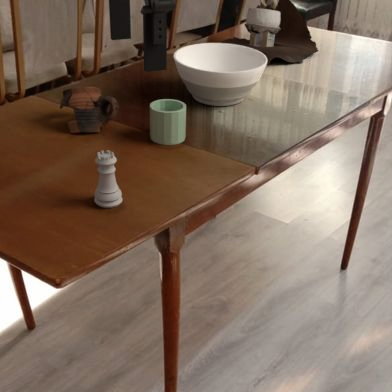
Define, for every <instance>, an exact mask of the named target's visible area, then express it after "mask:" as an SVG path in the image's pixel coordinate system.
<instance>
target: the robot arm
mask: <svg viewBox="0 0 392 392" xmlns="http://www.w3.org/2000/svg"><path fill="white" fill-rule="evenodd" d="M143 1H144V5H142V7H141V9H140V11H139V12H140V14H141V15H142V36H143V37H142V40H143V41H142V42H143V45H142V46H143V71H144V72H146V73H148V72H159V71H166V70H167V65H168V64H167V57H168V55H167V54H168V53H167V50H168V49H167V47H168V46H167V45H168V42H167V41H168V40H167V39H168V37H167V36H168V29H167V28H168V24H167V23H168V14H167V13H169V12H170V11H175V9H176V0H143ZM108 13H109V31H110V40H111V41H120V40H131V39H132V26H131V25H132V23H131V22H132V21H131V0H108Z"/></svg>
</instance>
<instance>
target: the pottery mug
mask: <svg viewBox="0 0 392 392" xmlns="http://www.w3.org/2000/svg"><path fill="white" fill-rule="evenodd" d="M61 93H62V98H61V100H60V105H59V109H63V107H67V108H69V107H70V108H71V109H73V114H74V116H75V119H72V120H69V121H68V122H67V126H68V129H69V133H70V134H79V133H87V134H89V133H90V134H91V133H100V132H101V123H102V125H103V126H104V127H106V126H108V124H109V122H110V121H112V120H114V119H115V118H116V116H117V114H118V112H119V110H120V109H119V108H120V107H119V102H118V101H117V99H116V98H115V97H113V96H110V95H105V96H103V95H102V89H101V88H99V87H97V86H77V87H70V88H67V89H64V90H62V92H61ZM109 105H110V108H109Z"/></svg>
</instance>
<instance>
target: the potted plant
mask: <svg viewBox="0 0 392 392" xmlns="http://www.w3.org/2000/svg"><path fill="white" fill-rule="evenodd" d="M259 1H260V2H259V3H260V4H258V5H256V7H249V8H248V10H247V12H246V17H245V23H244V27H245V29H246V31H247V32H248V34H249V39H247V38H245V37H244V38H242V37H241V38H239V37H237V36H233V37H232V38H227V39H224V40H222V41H221V42H220V43H227V44H235V45H241V46H246V47H249V48H252V49H255V50H258V51H260V52H261V53H263V54H264V55H265V56H266V57H267V64H266V66H268V67H269V65H270V63H271V61H272V60H273V59H275V58H279V59H282V60H283V61H285V62H286V63H301V64H303V63H304V59H306V58H307V57H310V56H313V55H314V54H315V53H317V52H319V48H318V47H317V43H316V41H314V40H312V38H313V37H312V35H311V31H310V30H309V27H308V24H307V23H306V21H305V19H304V17H303V16H302V14H301V13H300V12H299V10H298V8H297V6H296V5H295V4H294V3H293V2H292V1H291V0H259Z"/></svg>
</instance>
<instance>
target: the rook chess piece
mask: <svg viewBox="0 0 392 392" xmlns="http://www.w3.org/2000/svg"><path fill="white" fill-rule="evenodd" d="M94 162H95V163H96V164H97V166H98V167H97V169H96V171H97V172H98V183H97V186H96V189H95V190H94V195H93V196H94V199H93V200H94V201H93V202H94V203H95V204H96V205H97V207H99V208H103V209H113V208H116V207H118V206H120V205H121V204H122V202H123V193H122V190H121V189H120V186H119V185H118V183H117V179H116V173H115V172H116V170H117V168H116V167H115V164H116V162H118V159H117V157H116V156H115V152H114V151H111V150H108V149H107V150H106V152H105V150H104V149H103V150H100V151H98V152H96V158H94Z"/></svg>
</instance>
